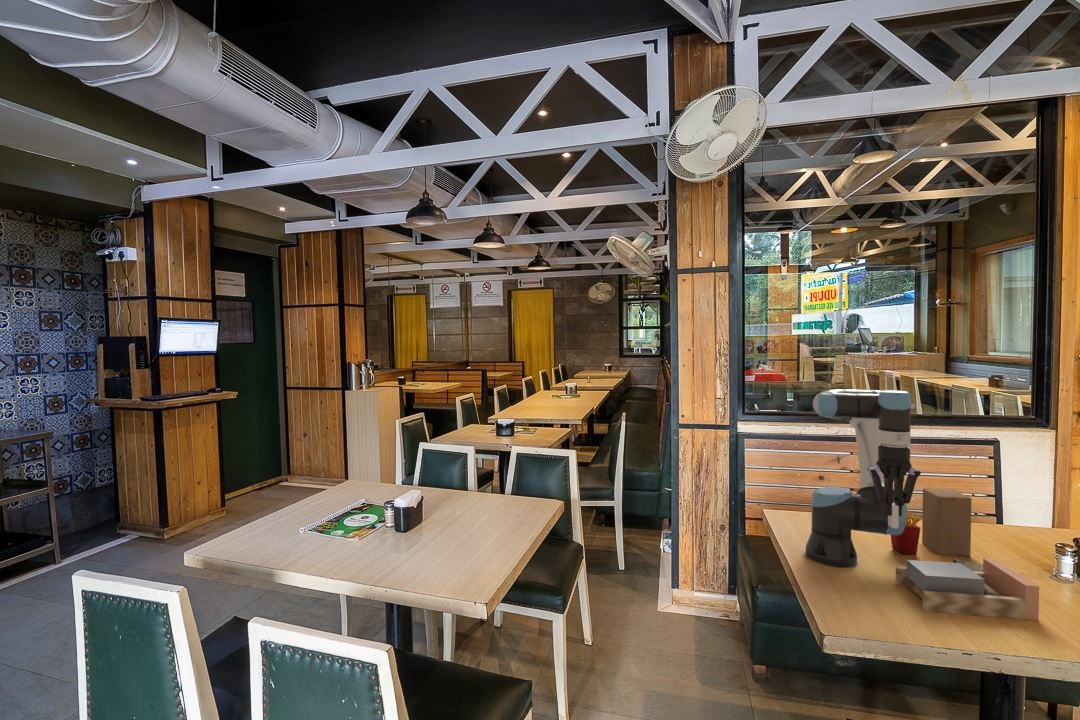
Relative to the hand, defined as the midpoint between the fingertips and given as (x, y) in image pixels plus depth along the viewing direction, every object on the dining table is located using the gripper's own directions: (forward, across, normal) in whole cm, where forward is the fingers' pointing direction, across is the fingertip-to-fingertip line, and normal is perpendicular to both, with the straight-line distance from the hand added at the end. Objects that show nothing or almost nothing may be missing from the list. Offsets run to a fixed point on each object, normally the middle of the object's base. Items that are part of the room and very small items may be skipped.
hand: (893, 526), depth 144 cm
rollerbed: (+20, +16, 0) cm, 26 cm away
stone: (+21, +32, +17) cm, 42 cm away
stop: (+20, +29, 0) cm, 35 cm away
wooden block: (+20, +33, +37) cm, 54 cm away
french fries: (+20, +17, +33) cm, 42 cm away
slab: (+17, +13, 0) cm, 21 cm away
